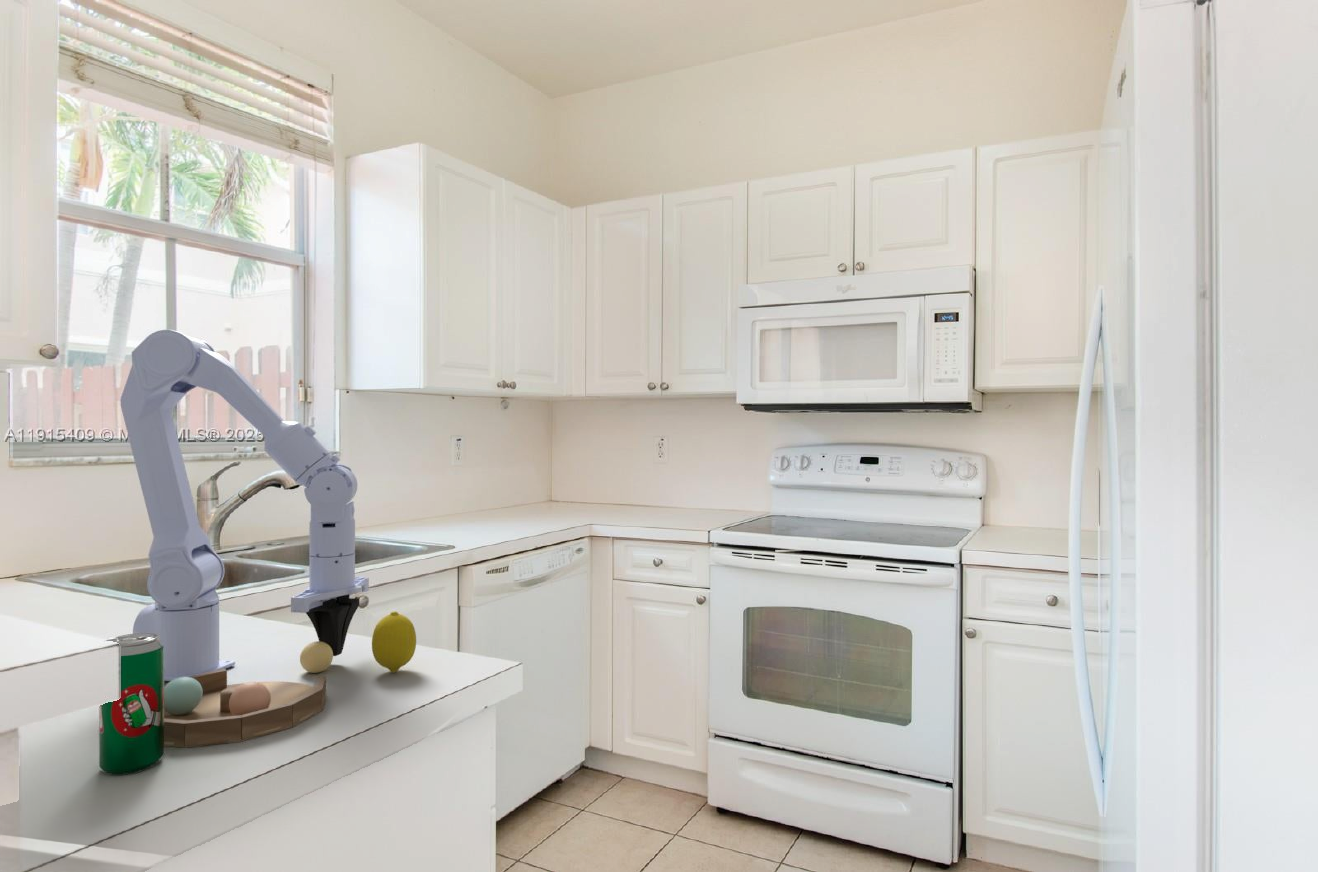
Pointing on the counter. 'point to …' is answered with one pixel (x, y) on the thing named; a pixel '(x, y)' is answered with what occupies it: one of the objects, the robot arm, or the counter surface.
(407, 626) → the lemon
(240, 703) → the bead terracotta
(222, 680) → the groove tray
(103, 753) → the soda can
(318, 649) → the pale yellow ball
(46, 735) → the counter surface
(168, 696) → the bead teal
